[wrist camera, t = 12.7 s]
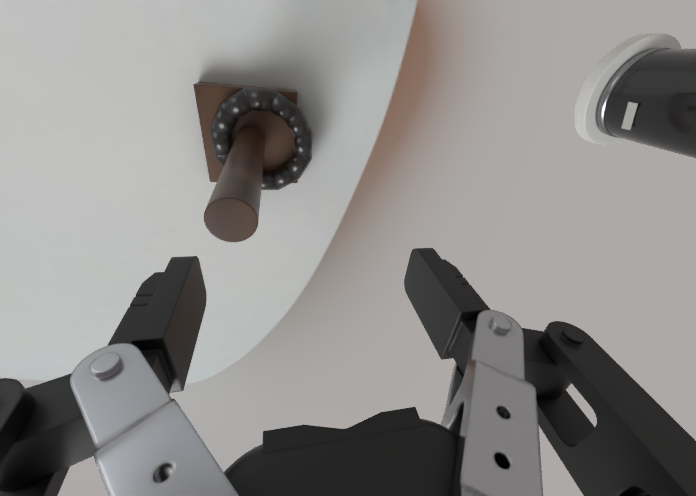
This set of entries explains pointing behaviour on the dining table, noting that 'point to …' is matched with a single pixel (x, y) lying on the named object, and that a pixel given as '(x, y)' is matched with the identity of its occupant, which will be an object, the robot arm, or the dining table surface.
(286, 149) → the brown peg stand
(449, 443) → the robot arm
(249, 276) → the dining table surface
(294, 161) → the ring
